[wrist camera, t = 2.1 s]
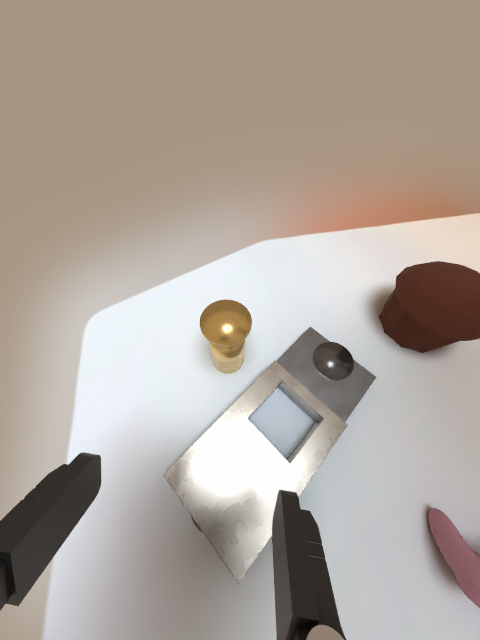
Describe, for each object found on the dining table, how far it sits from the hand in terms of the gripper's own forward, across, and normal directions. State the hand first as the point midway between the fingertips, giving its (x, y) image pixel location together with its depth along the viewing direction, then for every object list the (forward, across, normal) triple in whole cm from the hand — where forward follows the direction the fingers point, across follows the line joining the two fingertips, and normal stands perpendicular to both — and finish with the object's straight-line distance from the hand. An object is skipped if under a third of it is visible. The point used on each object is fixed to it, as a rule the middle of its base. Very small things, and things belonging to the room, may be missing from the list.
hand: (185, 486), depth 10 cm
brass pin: (+20, +1, +3) cm, 21 cm away
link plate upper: (+13, -4, +10) cm, 17 cm away
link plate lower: (+18, -9, +5) cm, 21 cm away
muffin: (+27, -25, -4) cm, 37 cm away
